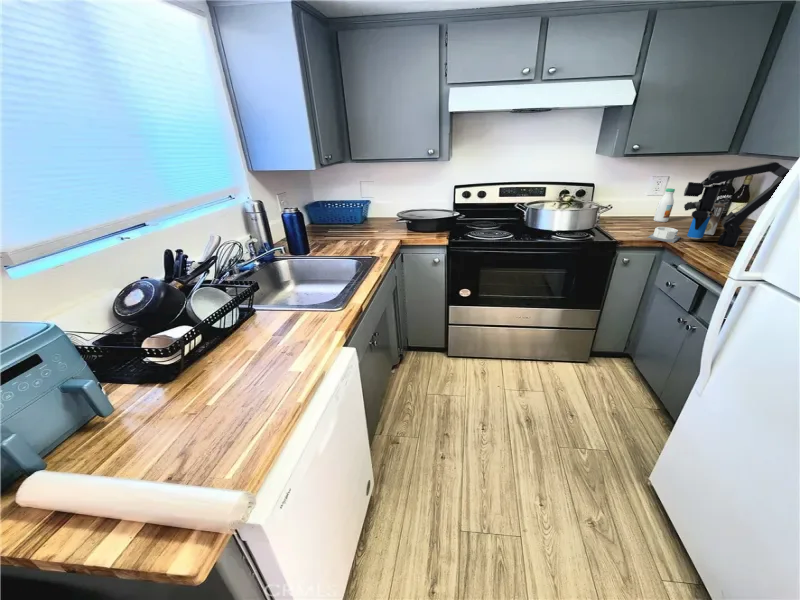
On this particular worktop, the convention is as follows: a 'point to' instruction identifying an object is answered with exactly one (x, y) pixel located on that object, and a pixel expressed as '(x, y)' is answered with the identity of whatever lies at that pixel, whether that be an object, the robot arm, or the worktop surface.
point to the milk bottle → (665, 206)
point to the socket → (665, 234)
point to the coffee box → (714, 219)
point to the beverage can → (698, 232)
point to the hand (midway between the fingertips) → (697, 228)
